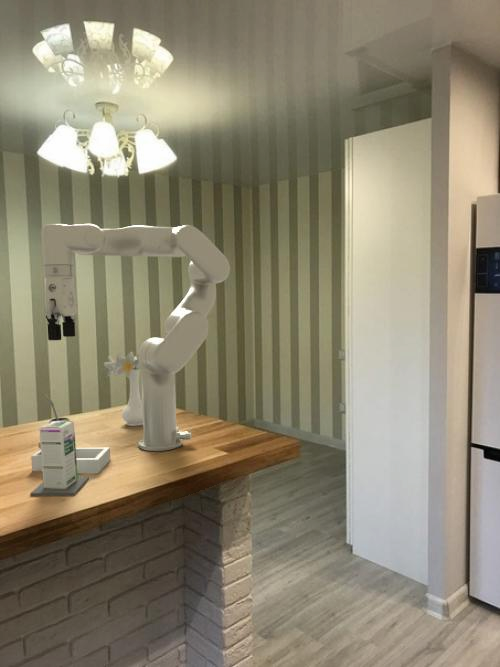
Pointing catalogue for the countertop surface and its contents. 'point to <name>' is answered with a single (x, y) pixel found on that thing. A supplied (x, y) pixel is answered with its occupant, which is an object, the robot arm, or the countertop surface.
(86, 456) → the housing
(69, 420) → the mate gourd
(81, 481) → the mat
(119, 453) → the countertop surface
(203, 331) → the robot arm
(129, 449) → the countertop surface
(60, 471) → the syrup box
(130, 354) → the flower vase
